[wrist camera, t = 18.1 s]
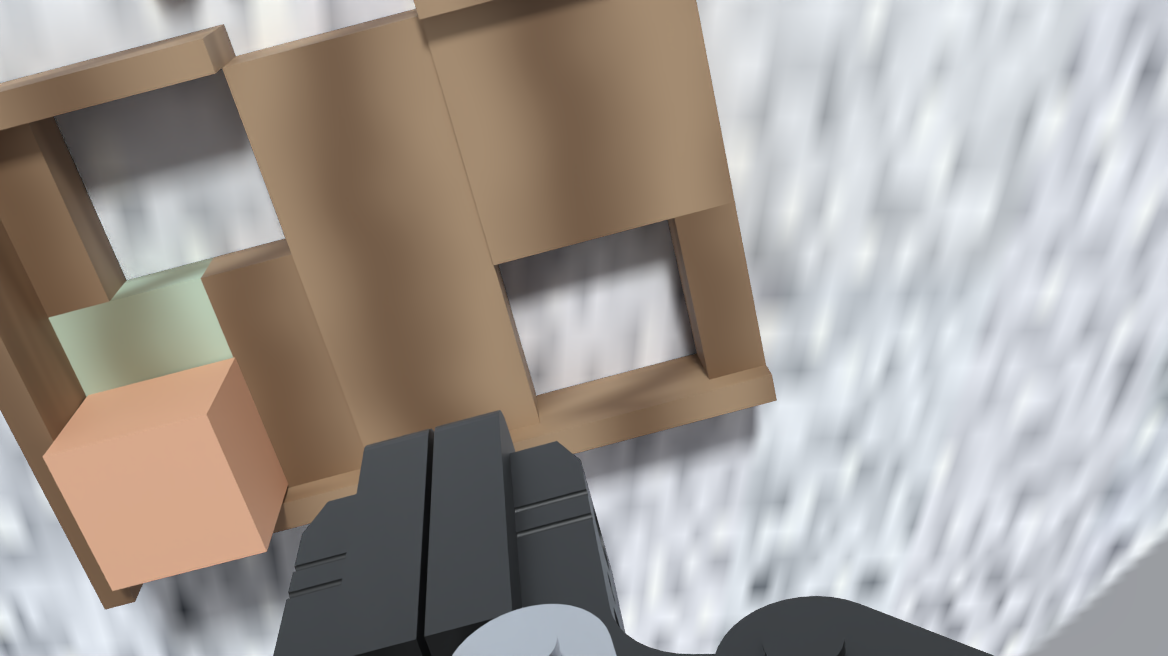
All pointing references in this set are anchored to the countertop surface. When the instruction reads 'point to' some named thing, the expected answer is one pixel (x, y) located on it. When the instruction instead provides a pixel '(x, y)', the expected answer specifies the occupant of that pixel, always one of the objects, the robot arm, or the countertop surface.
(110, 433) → the block
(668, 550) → the countertop surface
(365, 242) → the brown wooden compartment frame
